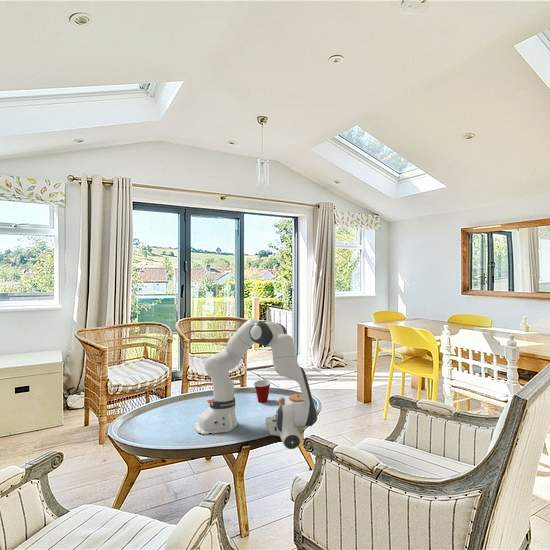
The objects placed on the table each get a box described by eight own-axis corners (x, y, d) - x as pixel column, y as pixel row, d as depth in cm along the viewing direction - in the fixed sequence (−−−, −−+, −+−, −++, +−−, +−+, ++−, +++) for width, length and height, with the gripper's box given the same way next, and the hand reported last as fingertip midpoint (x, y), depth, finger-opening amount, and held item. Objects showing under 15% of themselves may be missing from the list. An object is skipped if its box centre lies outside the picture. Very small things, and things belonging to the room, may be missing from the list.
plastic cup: (250, 401, 233) (250, 381, 232) (264, 397, 239) (264, 378, 239) (260, 405, 224) (260, 386, 224) (274, 401, 231) (274, 382, 230)
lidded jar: (307, 406, 221) (307, 391, 221) (307, 413, 211) (307, 397, 210) (289, 406, 222) (289, 390, 222) (288, 413, 212) (288, 397, 212)
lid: (277, 426, 194) (276, 402, 194) (267, 417, 205) (267, 395, 205) (297, 421, 199) (296, 398, 199) (287, 414, 210) (286, 392, 210)
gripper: (308, 419, 178) (304, 408, 192) (266, 421, 176) (264, 410, 190) (309, 432, 178) (304, 421, 192) (266, 434, 177) (264, 423, 190)
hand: (284, 415), depth 191 cm, fingers open, 8 cm apart
